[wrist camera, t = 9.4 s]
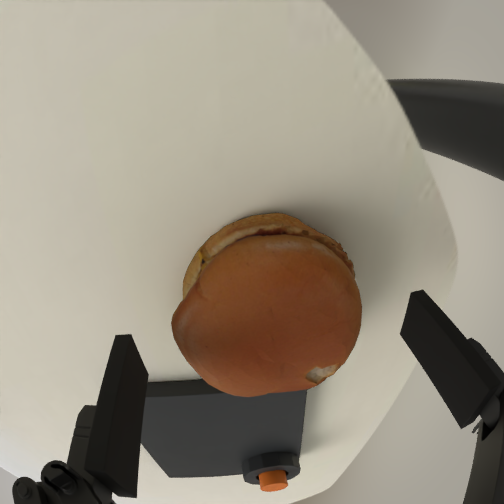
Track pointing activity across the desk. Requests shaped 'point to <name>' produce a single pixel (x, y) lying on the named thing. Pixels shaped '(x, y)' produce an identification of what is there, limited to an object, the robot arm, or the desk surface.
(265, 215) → the burger
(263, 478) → the button
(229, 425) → the scale
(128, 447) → the robot arm
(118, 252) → the desk surface
